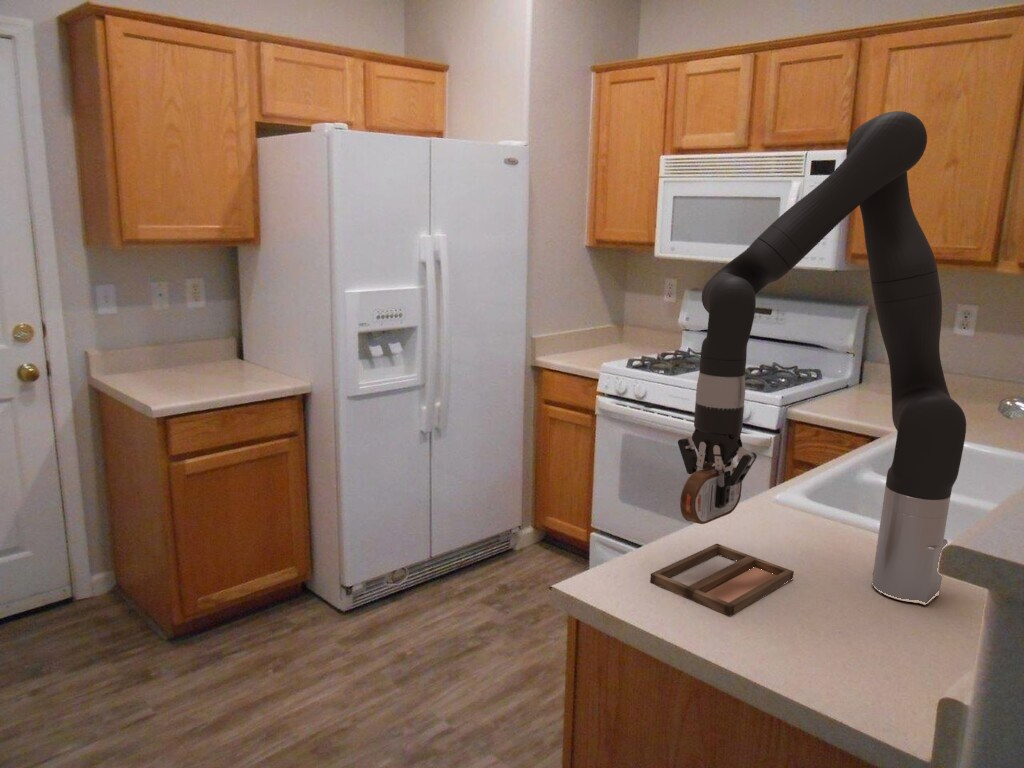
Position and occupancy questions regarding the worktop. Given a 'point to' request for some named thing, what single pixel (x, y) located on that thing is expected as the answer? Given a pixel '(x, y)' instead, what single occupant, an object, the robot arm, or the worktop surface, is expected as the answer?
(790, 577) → the rack
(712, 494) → the tin
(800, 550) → the worktop surface
